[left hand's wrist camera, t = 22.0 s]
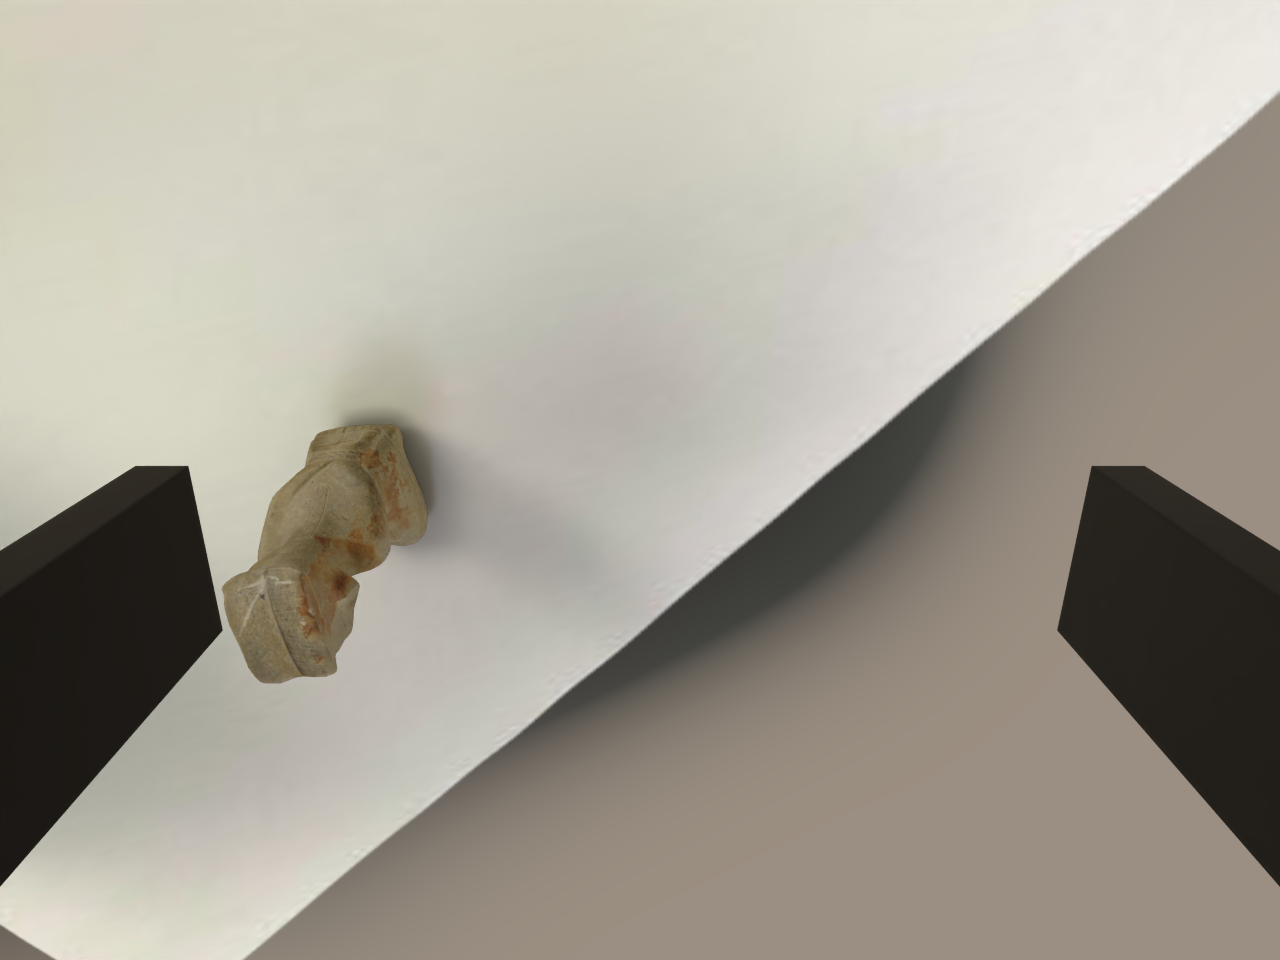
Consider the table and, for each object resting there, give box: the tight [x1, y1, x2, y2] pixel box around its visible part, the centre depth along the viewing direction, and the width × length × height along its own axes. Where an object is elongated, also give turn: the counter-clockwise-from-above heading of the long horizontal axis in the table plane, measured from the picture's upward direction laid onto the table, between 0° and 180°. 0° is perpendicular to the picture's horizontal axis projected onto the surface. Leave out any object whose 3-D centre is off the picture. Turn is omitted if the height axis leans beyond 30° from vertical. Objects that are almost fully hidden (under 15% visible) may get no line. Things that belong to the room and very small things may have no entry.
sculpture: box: [222, 425, 427, 683], centre depth 38 cm, size 6×7×15 cm
